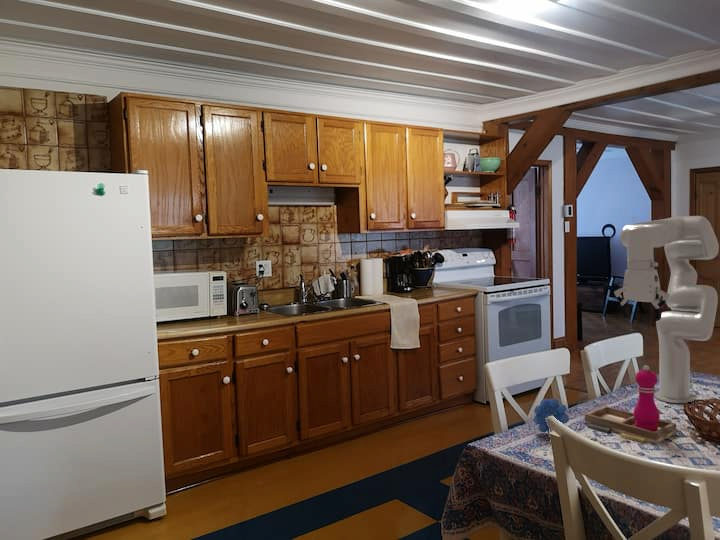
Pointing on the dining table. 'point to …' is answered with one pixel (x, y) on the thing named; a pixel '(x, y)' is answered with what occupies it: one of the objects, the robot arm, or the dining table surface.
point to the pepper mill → (646, 400)
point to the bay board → (627, 425)
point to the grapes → (549, 413)
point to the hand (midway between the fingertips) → (641, 318)
